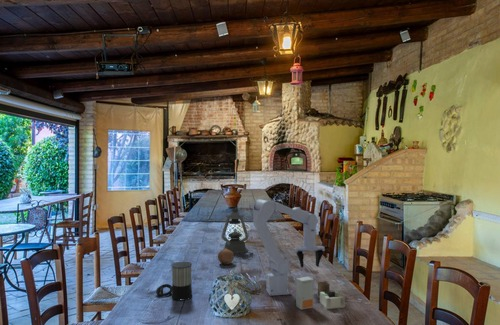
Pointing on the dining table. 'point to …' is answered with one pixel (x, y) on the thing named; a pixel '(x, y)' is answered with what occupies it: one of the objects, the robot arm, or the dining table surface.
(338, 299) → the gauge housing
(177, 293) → the milk frother
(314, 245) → the robot arm
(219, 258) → the onion
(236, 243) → the lantern
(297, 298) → the skincare box
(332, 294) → the plunger
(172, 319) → the dining table surface
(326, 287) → the walnut block
